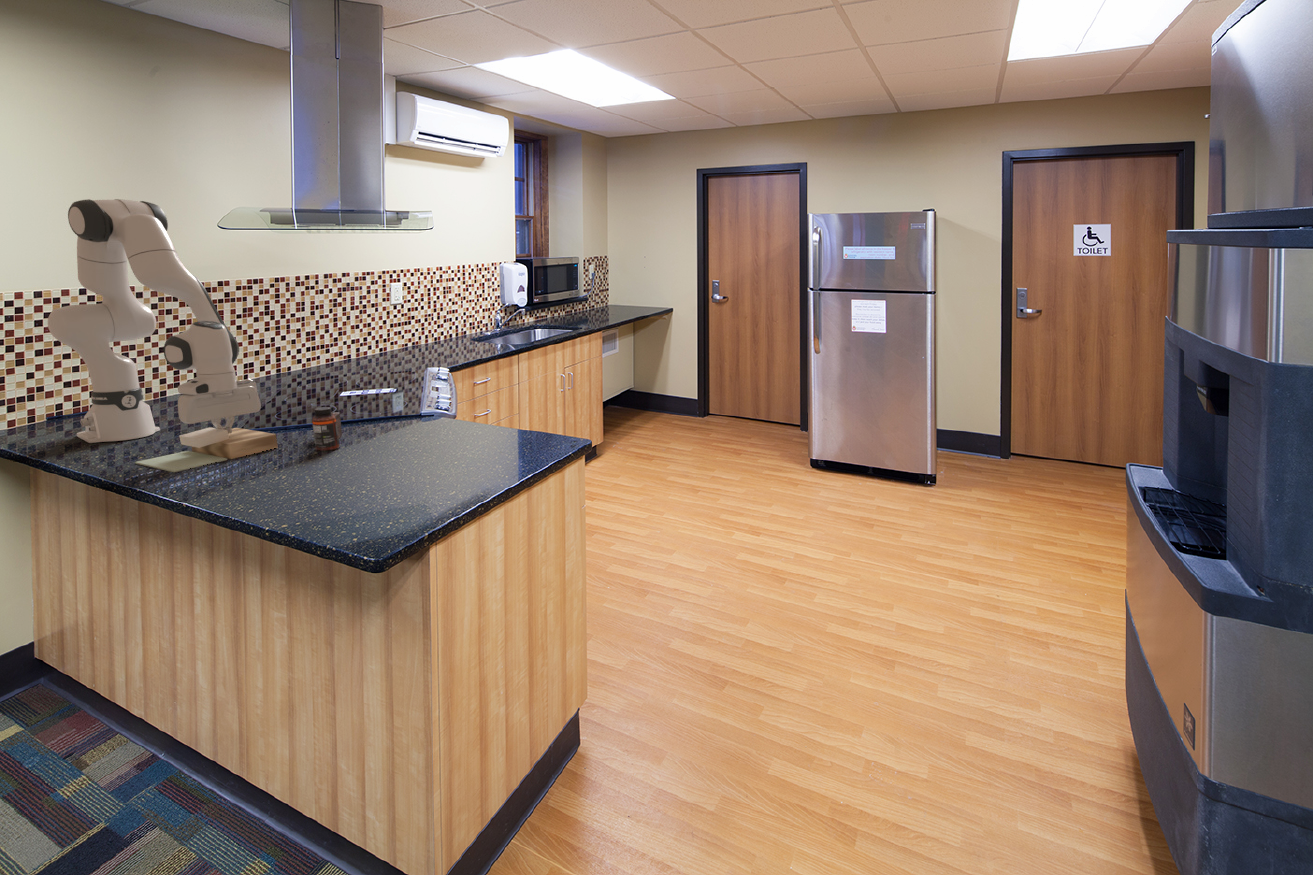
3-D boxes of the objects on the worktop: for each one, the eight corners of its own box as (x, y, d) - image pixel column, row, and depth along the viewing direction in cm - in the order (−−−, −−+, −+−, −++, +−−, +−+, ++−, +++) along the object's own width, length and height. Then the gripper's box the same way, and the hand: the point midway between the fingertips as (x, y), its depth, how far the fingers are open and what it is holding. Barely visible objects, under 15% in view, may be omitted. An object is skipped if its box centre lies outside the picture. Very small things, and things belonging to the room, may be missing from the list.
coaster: (181, 444, 187) (179, 435, 186) (211, 435, 194) (209, 427, 193) (199, 447, 183) (196, 438, 182) (229, 438, 190) (227, 430, 189)
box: (315, 442, 204) (312, 416, 202) (320, 437, 210) (317, 412, 208) (338, 440, 205) (335, 415, 203) (342, 436, 211) (340, 411, 209)
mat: (135, 463, 182) (135, 461, 182) (188, 452, 194) (188, 450, 193) (174, 472, 174) (173, 470, 174) (227, 459, 185) (227, 458, 185)
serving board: (192, 451, 194) (189, 437, 193) (239, 441, 205) (237, 427, 204) (231, 459, 186) (228, 444, 185) (277, 448, 197) (275, 434, 196)
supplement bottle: (332, 445, 200) (328, 405, 197) (343, 448, 196) (339, 407, 194) (311, 449, 195) (306, 408, 193) (322, 452, 192) (317, 411, 189)
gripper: (248, 377, 200) (254, 425, 203) (170, 387, 182) (179, 440, 186) (261, 378, 197) (268, 427, 200) (184, 389, 180) (193, 443, 183)
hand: (225, 433), depth 193 cm, fingers closed
